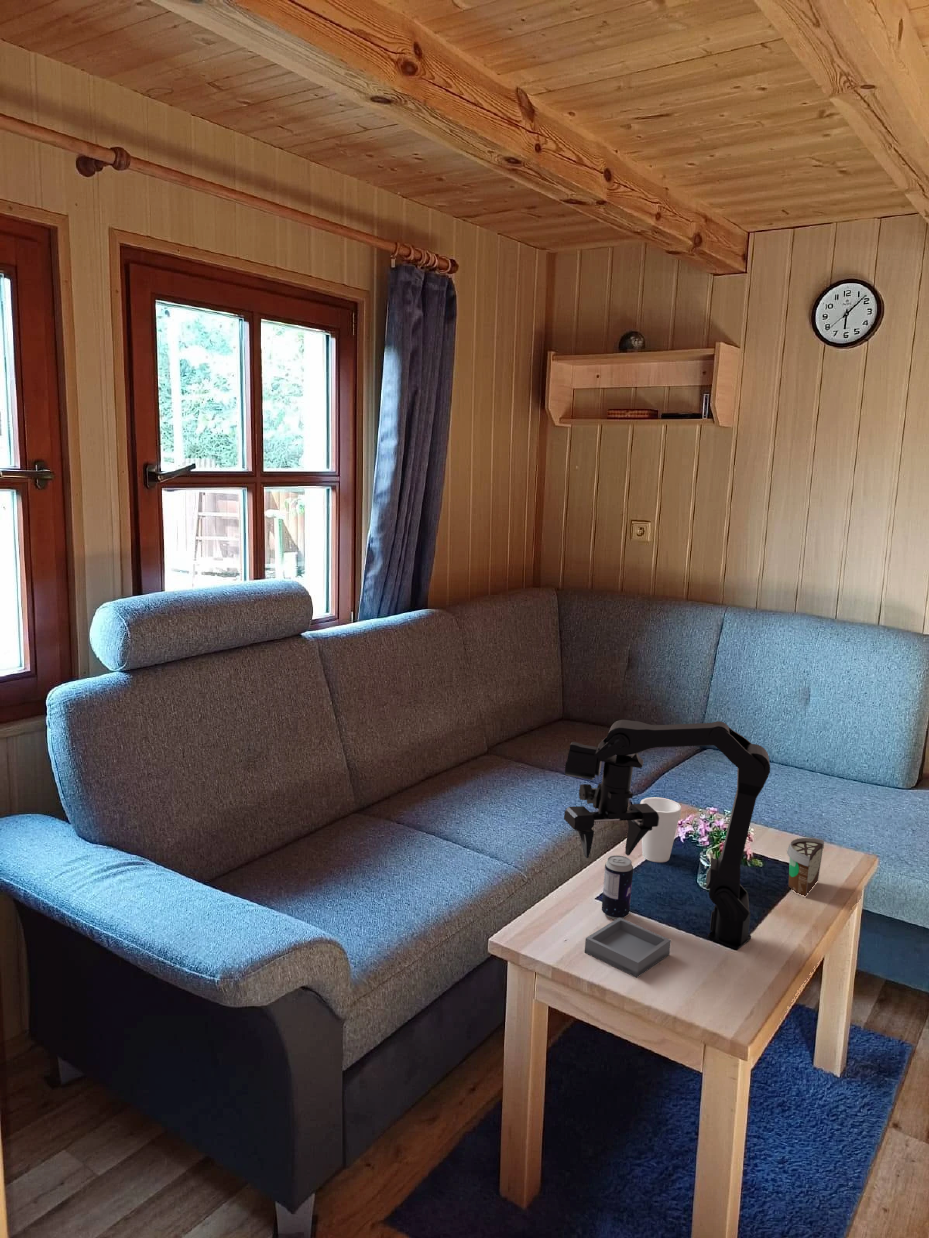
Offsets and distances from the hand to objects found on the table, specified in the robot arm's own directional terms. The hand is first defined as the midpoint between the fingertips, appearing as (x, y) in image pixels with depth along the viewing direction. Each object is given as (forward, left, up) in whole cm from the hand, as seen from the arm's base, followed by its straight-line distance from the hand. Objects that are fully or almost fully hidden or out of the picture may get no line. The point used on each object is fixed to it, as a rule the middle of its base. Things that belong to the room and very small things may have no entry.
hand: (606, 855), depth 188 cm
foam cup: (+8, -34, -14) cm, 37 cm away
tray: (-11, +8, -13) cm, 20 cm away
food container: (-22, -45, -14) cm, 52 cm away
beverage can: (-1, -3, -14) cm, 14 cm away
